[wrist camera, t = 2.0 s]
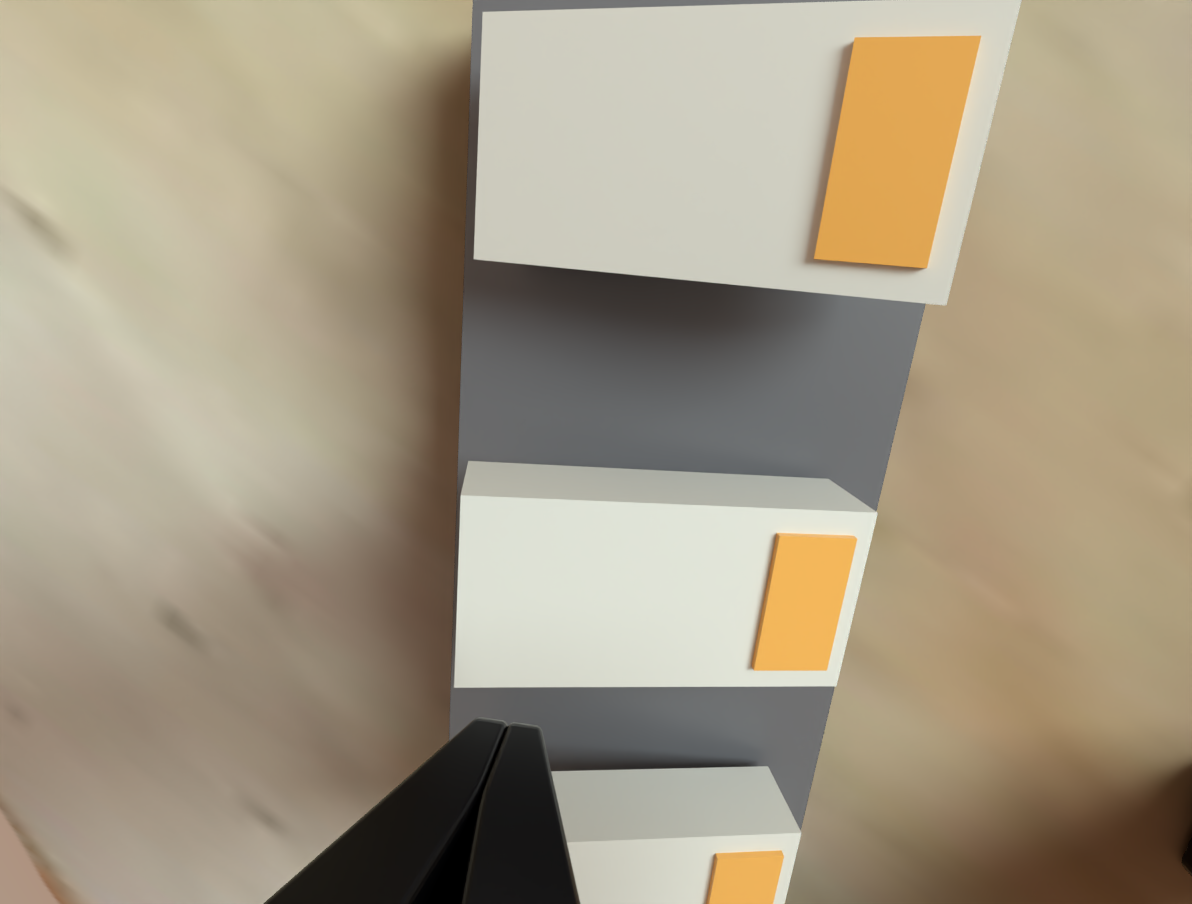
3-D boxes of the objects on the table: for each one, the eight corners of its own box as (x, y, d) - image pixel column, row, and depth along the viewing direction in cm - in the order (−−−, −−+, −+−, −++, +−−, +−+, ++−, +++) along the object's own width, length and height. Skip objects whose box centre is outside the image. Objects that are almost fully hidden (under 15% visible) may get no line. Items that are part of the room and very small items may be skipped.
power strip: (983, -264, 14) (1109, -477, 10) (756, 817, 22) (776, 931, 18) (534, -281, 14) (488, -486, 10) (481, 774, 23) (444, 875, 19)
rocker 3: (767, 766, 16) (804, 838, 14) (743, 882, 17) (774, 964, 15) (456, 773, 15) (448, 853, 13) (452, 897, 16) (443, 989, 14)
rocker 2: (828, 478, 14) (882, 515, 12) (795, 632, 15) (840, 690, 13) (468, 460, 13) (459, 498, 11) (461, 629, 14) (453, 692, 12)
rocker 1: (983, 49, 10) (1026, -10, 8) (924, 303, 11) (947, 306, 9) (531, 53, 12) (478, 7, 10) (520, 263, 13) (469, 258, 11)
